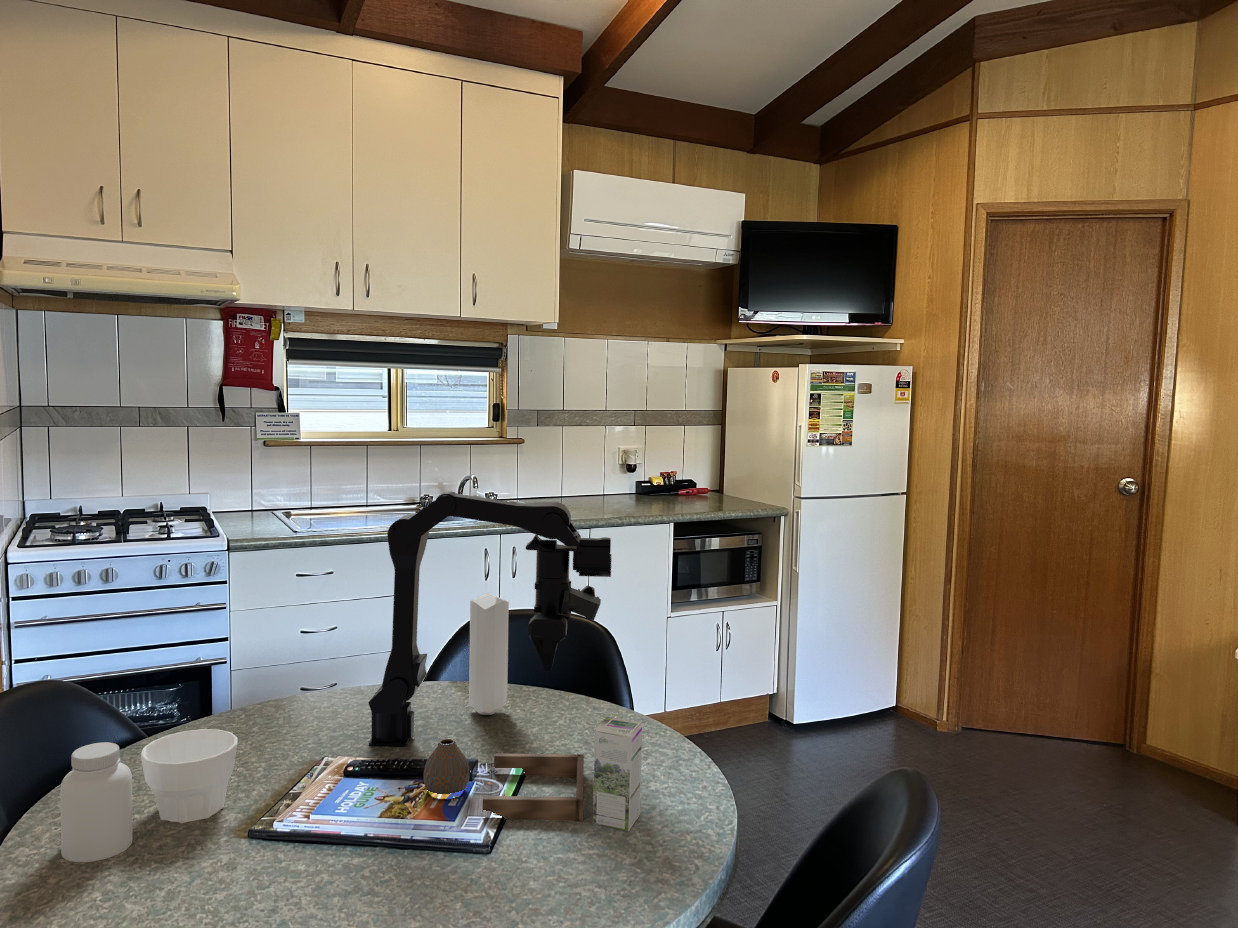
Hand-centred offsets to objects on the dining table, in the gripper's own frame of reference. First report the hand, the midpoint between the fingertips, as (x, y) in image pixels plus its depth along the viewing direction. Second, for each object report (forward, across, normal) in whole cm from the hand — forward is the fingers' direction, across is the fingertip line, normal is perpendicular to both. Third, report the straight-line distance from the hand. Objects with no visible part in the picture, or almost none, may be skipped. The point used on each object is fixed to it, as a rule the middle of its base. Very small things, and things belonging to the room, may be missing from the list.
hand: (550, 662), depth 152 cm
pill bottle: (+16, -40, +55) cm, 70 cm away
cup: (+16, -29, +49) cm, 59 cm away
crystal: (+15, +14, +13) cm, 24 cm away
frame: (+15, -19, 0) cm, 25 cm away
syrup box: (+15, -26, -12) cm, 33 cm away
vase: (+15, -20, +14) cm, 29 cm away
